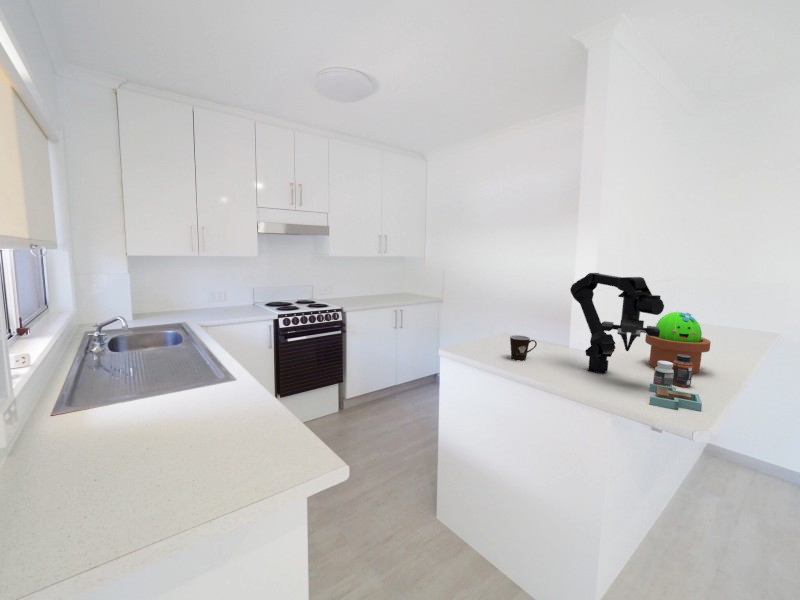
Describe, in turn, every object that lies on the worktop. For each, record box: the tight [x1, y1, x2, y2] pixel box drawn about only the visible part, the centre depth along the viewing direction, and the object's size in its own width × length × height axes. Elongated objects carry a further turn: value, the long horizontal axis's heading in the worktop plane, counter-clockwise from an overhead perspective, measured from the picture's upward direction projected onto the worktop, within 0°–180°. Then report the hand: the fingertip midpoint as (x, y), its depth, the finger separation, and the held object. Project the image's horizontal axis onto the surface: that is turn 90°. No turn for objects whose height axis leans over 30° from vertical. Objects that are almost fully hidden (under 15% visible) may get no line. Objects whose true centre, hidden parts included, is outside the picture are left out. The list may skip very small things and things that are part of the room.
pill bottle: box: [652, 361, 674, 387], centre depth 134 cm, size 6×6×10 cm
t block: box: [655, 386, 691, 400], centre depth 124 cm, size 9×9×3 cm
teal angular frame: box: [648, 382, 703, 412], centre depth 123 cm, size 14×15×2 cm
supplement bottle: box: [672, 354, 693, 388], centre depth 138 cm, size 6×6×11 cm
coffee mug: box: [509, 334, 538, 362], centre depth 169 cm, size 12×9×10 cm
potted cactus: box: [644, 311, 711, 375], centre depth 158 cm, size 22×22×25 cm
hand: (627, 350), depth 141 cm, fingers closed
